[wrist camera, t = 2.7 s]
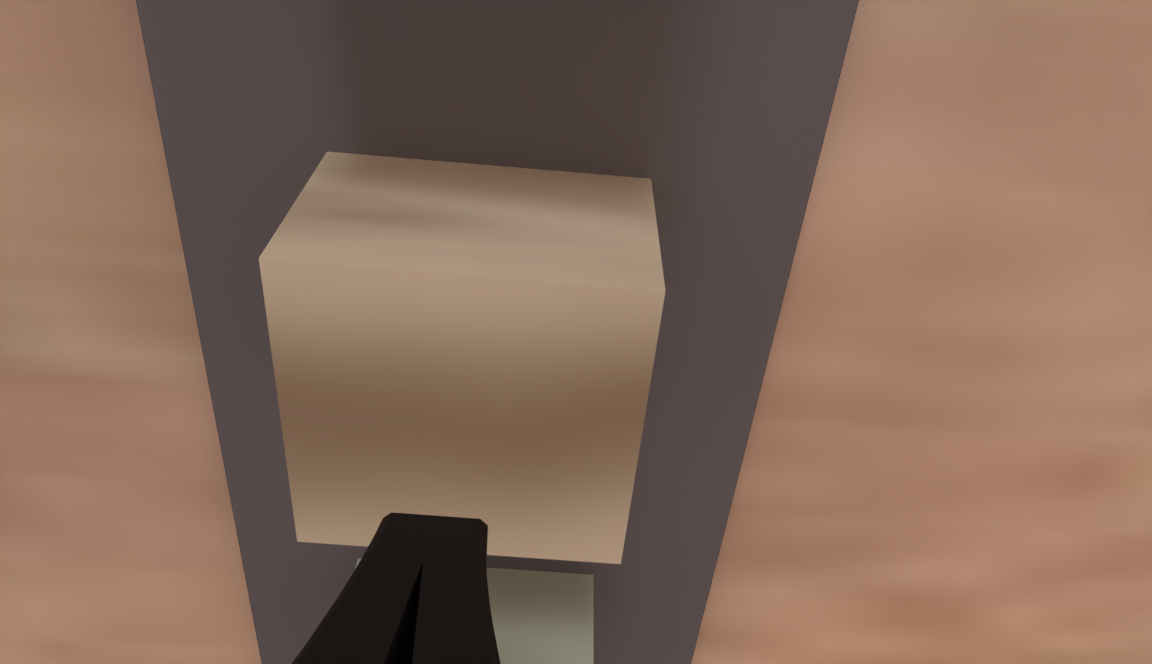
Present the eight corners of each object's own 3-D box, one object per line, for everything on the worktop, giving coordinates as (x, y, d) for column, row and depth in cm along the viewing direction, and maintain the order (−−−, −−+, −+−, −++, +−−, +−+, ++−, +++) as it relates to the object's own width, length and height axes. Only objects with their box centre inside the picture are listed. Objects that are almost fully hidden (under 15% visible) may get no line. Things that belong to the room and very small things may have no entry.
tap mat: (671, 722, 27) (672, 737, 27) (276, 696, 27) (270, 712, 26) (1041, -772, 10) (1060, -794, 10) (-14, -900, 10) (-41, -929, 9)
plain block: (616, 425, 20) (620, 563, 16) (347, 405, 20) (297, 541, 16) (651, 178, 16) (665, 290, 13) (326, 151, 16) (258, 258, 13)
